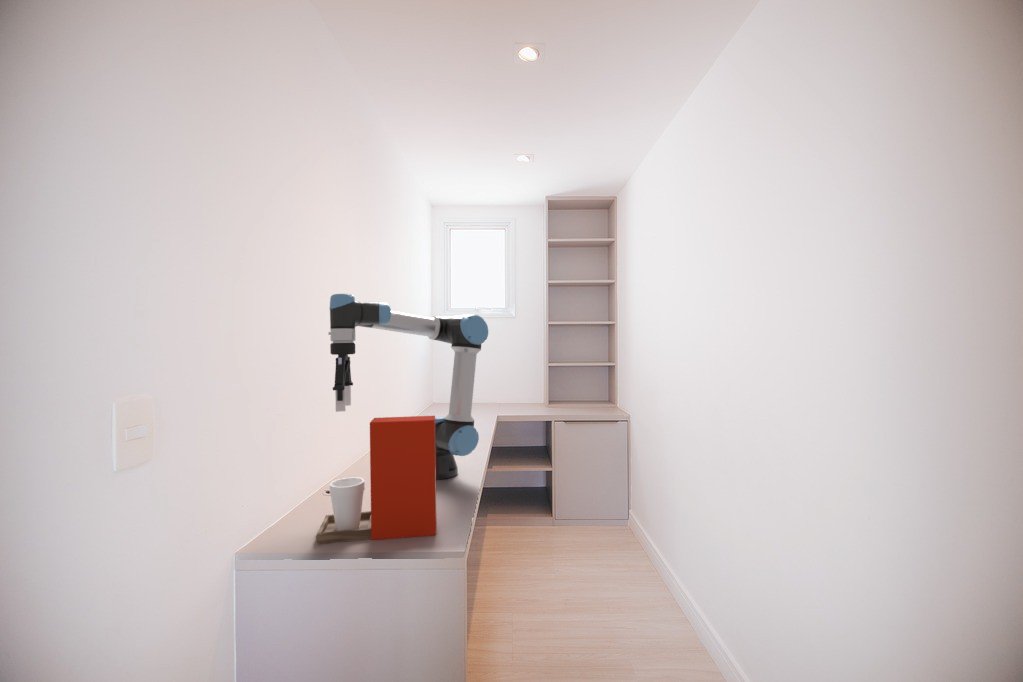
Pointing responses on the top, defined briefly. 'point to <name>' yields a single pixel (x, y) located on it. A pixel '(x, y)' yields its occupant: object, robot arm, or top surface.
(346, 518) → the foam cup
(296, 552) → the top surface
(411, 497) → the file binder
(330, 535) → the square wooden tray
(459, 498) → the top surface
